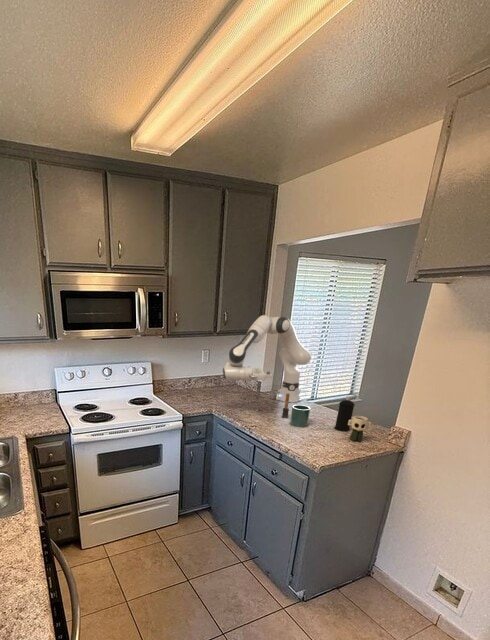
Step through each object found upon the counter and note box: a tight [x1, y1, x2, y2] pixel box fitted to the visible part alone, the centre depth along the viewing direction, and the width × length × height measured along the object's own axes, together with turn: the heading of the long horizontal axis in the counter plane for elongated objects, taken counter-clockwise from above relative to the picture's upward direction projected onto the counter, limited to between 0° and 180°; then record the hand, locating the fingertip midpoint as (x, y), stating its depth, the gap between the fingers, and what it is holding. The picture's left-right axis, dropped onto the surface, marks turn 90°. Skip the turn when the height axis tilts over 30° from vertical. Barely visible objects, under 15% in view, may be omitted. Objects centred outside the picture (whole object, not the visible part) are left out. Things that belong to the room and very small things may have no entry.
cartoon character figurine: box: [348, 415, 372, 442], centre depth 196 cm, size 11×7×13 cm, turn 70°
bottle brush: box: [281, 393, 290, 419], centre depth 231 cm, size 4×4×16 cm
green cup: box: [289, 404, 311, 428], centre depth 219 cm, size 10×10×11 cm
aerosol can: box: [334, 395, 356, 432], centre depth 210 cm, size 8×8×20 cm
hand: (270, 374), depth 225 cm, fingers open, 8 cm apart
